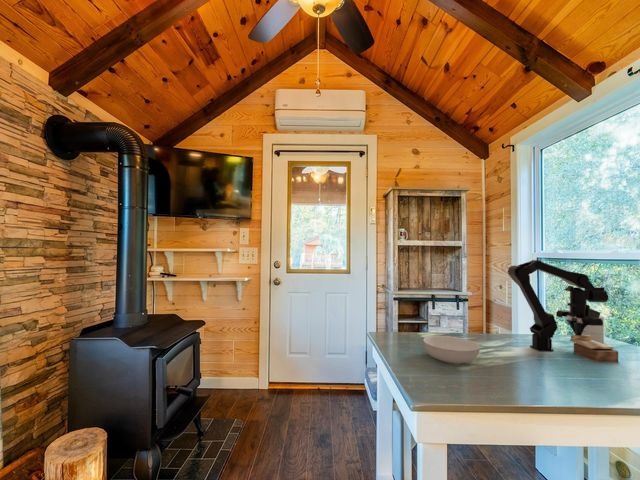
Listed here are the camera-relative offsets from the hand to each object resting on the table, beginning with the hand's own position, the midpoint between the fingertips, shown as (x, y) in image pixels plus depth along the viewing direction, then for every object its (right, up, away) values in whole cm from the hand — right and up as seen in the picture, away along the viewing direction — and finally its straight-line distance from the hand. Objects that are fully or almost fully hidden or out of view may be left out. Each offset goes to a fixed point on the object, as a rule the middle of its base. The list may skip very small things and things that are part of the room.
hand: (578, 337), depth 142 cm
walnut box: (0, -6, -9) cm, 10 cm away
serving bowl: (-62, -5, -14) cm, 64 cm away
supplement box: (+19, -7, +16) cm, 26 cm away
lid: (0, -1, -6) cm, 7 cm away
